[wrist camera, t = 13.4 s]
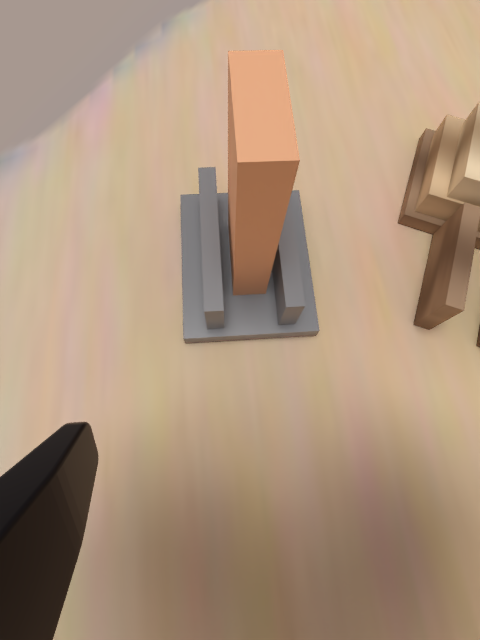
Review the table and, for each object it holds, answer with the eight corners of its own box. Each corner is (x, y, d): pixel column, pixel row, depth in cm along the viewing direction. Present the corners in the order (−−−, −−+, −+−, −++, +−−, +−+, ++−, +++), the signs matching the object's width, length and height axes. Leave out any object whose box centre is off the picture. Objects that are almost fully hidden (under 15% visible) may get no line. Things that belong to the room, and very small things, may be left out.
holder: (315, 335, 22) (333, 313, 18) (185, 343, 22) (176, 322, 18) (296, 199, 25) (308, 157, 22) (182, 204, 25) (174, 161, 21)
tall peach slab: (265, 293, 22) (299, 160, 12) (233, 295, 22) (237, 162, 11) (258, 223, 24) (283, 50, 13) (228, 224, 23) (228, 50, 13)
